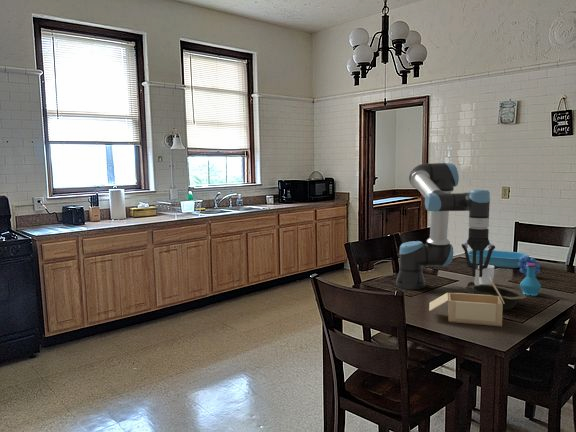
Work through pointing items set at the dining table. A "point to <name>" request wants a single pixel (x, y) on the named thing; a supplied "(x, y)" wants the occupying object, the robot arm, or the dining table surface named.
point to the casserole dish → (499, 258)
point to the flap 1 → (438, 301)
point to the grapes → (525, 261)
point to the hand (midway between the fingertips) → (476, 284)
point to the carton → (475, 309)
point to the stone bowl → (507, 294)
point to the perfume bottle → (530, 281)
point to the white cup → (487, 275)
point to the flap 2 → (496, 290)
